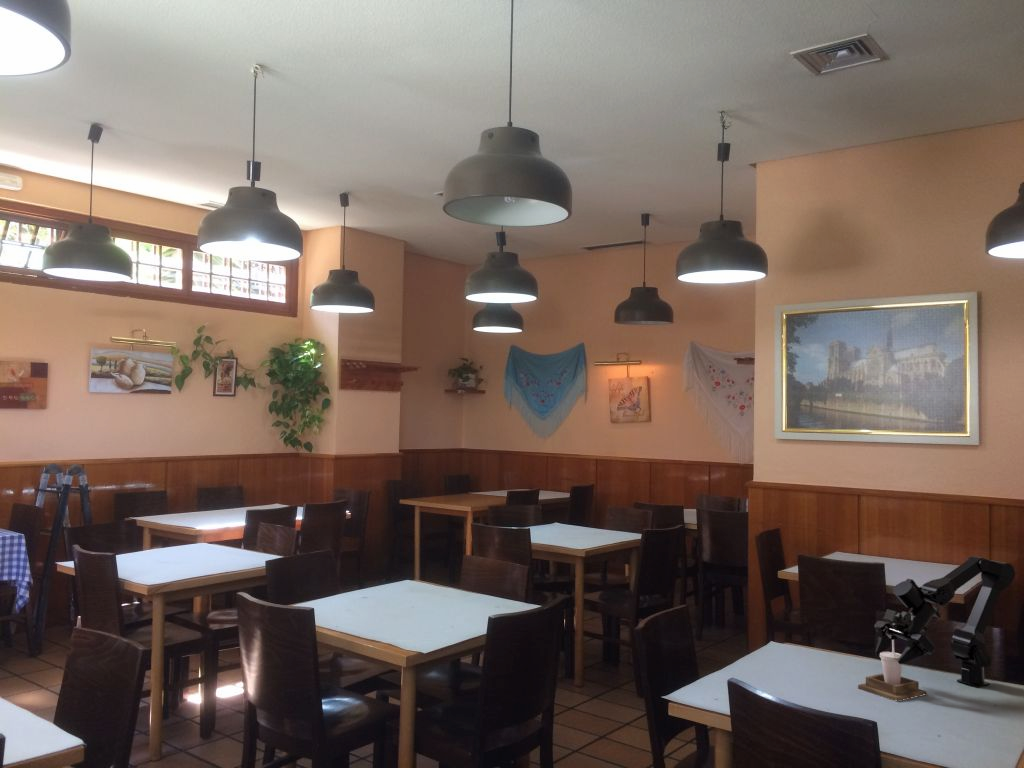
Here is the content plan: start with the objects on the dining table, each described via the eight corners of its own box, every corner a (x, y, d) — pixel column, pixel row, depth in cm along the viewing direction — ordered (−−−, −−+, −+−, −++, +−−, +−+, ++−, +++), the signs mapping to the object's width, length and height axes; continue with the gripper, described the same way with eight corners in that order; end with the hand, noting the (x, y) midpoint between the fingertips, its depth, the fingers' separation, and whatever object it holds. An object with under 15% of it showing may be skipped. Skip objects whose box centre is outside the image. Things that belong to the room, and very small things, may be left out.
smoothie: (899, 693, 226) (898, 643, 227) (876, 688, 230) (875, 639, 231) (907, 688, 230) (906, 639, 231) (885, 683, 235) (883, 635, 236)
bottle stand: (887, 682, 239) (887, 670, 239) (926, 694, 227) (926, 682, 228) (858, 688, 233) (857, 676, 233) (897, 701, 221) (896, 688, 222)
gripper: (878, 593, 242) (848, 632, 238) (925, 606, 224) (893, 648, 220) (900, 618, 243) (871, 657, 240) (948, 632, 225) (917, 675, 222)
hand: (887, 658), depth 230 cm, fingers open, 9 cm apart
